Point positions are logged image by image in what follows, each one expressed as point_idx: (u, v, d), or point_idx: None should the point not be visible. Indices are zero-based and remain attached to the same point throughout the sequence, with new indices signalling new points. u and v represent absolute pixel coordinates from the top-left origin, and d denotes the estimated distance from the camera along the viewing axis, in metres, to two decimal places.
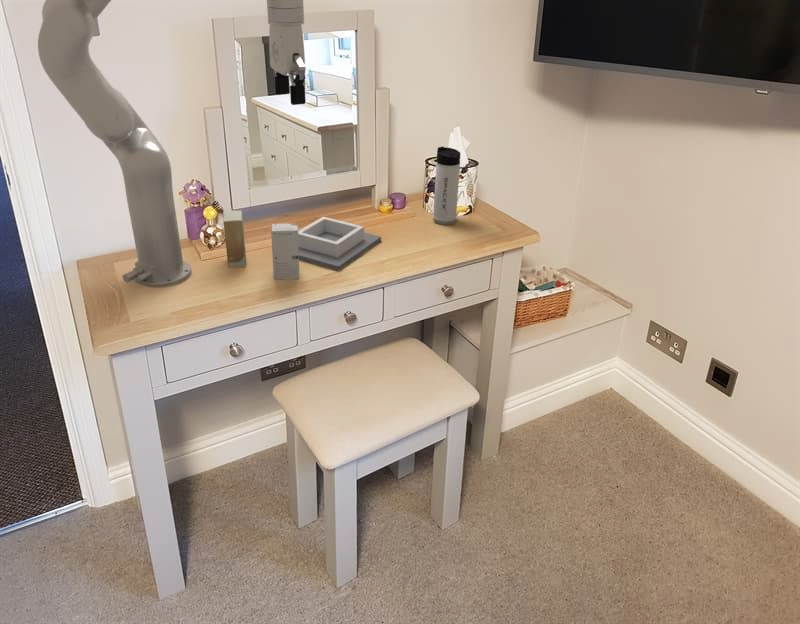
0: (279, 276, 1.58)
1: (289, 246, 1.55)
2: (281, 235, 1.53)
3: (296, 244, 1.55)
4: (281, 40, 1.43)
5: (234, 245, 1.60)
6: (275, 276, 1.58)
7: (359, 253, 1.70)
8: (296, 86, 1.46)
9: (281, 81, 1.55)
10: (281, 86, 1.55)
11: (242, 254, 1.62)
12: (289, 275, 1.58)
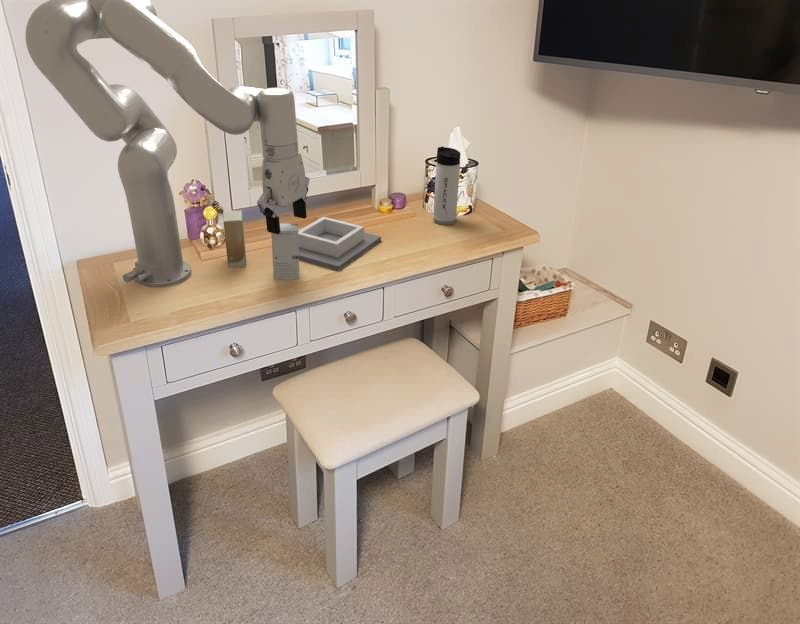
0: (279, 276, 1.58)
1: (289, 246, 1.55)
2: (280, 235, 1.53)
3: (296, 244, 1.55)
4: (302, 165, 1.50)
5: (234, 245, 1.60)
6: (275, 276, 1.58)
7: (359, 253, 1.70)
8: None
9: None
10: None
11: (242, 254, 1.62)
12: (289, 275, 1.58)
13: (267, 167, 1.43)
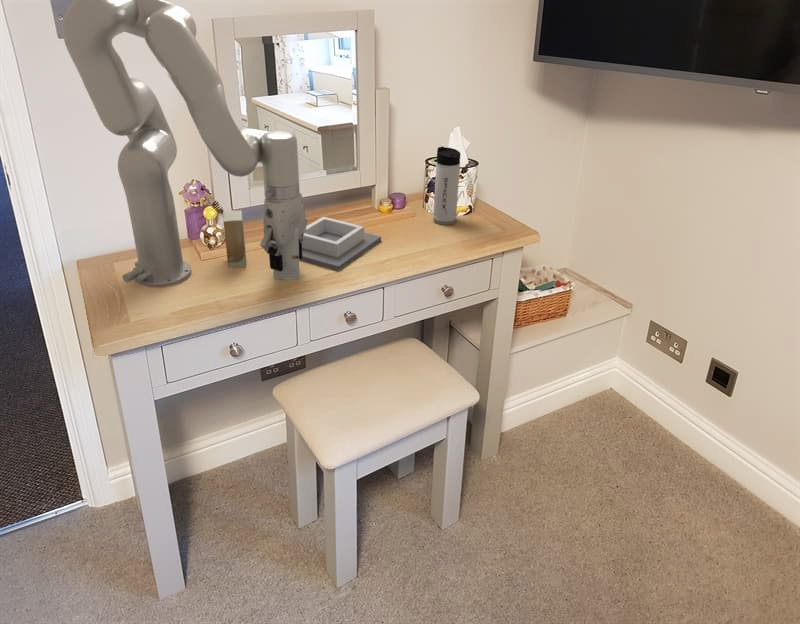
0: (279, 276, 1.58)
1: (289, 246, 1.55)
2: None
3: (296, 244, 1.55)
4: (302, 204, 1.54)
5: (234, 245, 1.60)
6: (275, 276, 1.58)
7: (359, 253, 1.70)
8: None
9: None
10: None
11: (242, 254, 1.62)
12: (289, 275, 1.58)
13: (269, 207, 1.48)
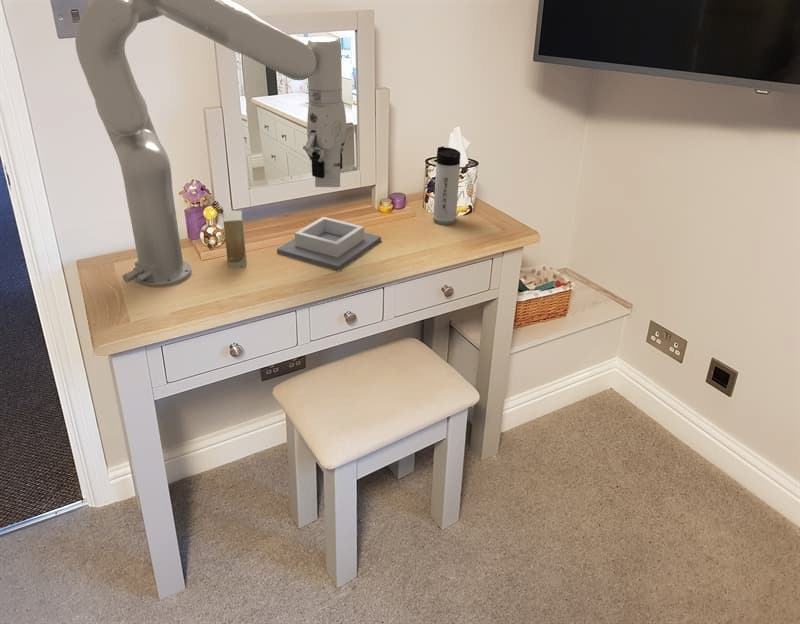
0: (321, 184, 1.63)
1: (331, 153, 1.60)
2: None
3: (338, 151, 1.60)
4: (344, 112, 1.59)
5: (234, 245, 1.60)
6: (317, 184, 1.63)
7: (359, 253, 1.70)
8: None
9: None
10: None
11: (242, 254, 1.62)
12: (330, 183, 1.63)
13: (313, 111, 1.53)
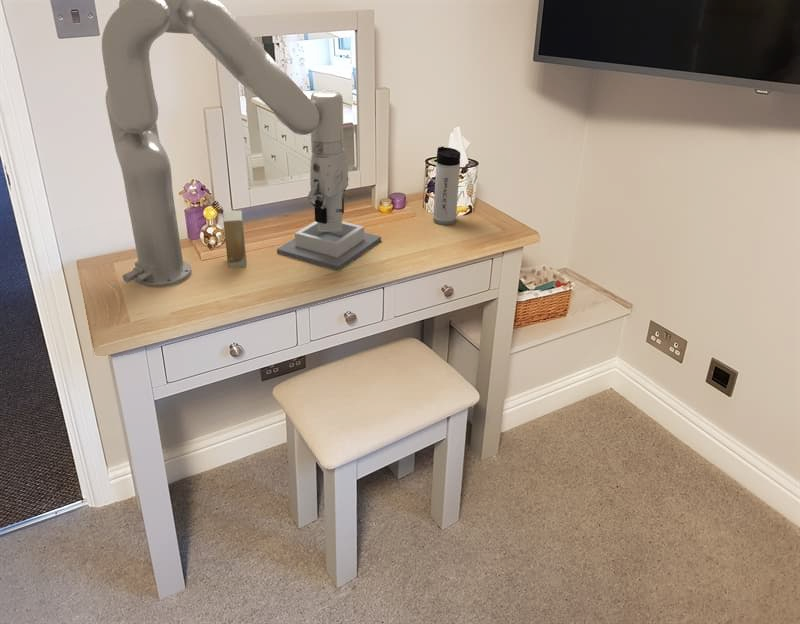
0: (324, 229, 1.69)
1: (333, 200, 1.66)
2: None
3: (340, 198, 1.66)
4: (345, 161, 1.65)
5: (234, 245, 1.60)
6: (320, 229, 1.69)
7: (359, 253, 1.70)
8: None
9: None
10: None
11: (242, 254, 1.62)
12: (333, 228, 1.69)
13: (316, 161, 1.59)
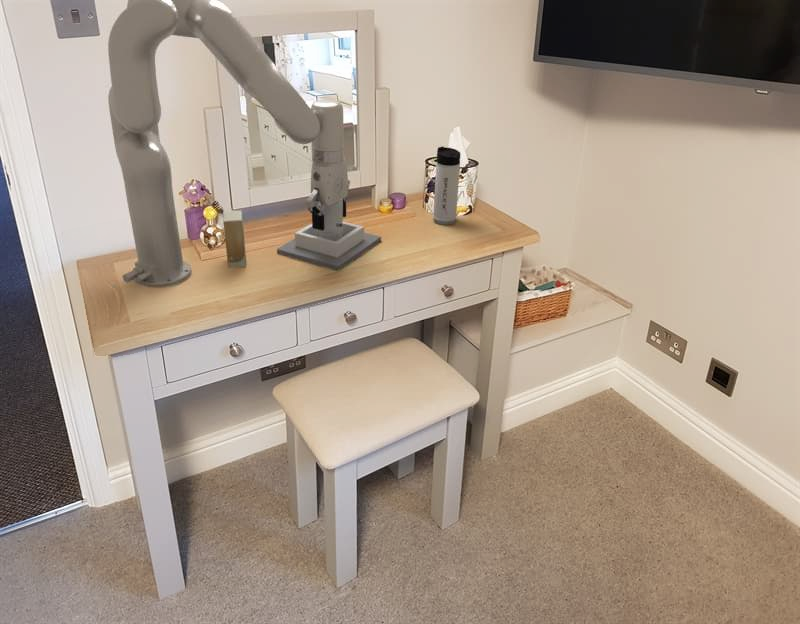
0: None
1: (333, 215, 1.68)
2: None
3: (340, 213, 1.68)
4: (345, 169, 1.66)
5: (234, 245, 1.60)
6: None
7: (359, 253, 1.70)
8: None
9: None
10: None
11: (242, 254, 1.62)
12: None
13: (316, 170, 1.60)
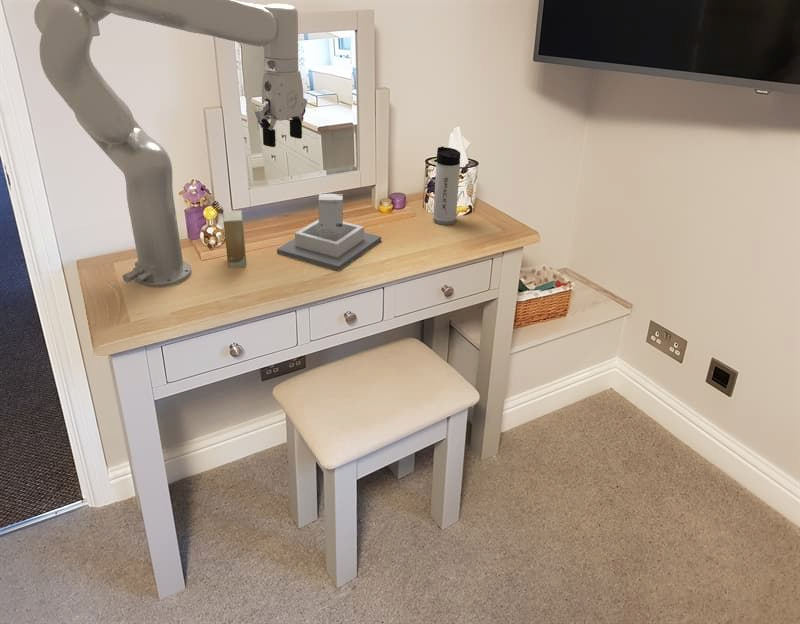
0: None
1: (333, 215, 1.68)
2: (326, 204, 1.67)
3: (340, 213, 1.68)
4: (301, 84, 1.57)
5: (234, 245, 1.60)
6: None
7: (359, 253, 1.70)
8: None
9: None
10: None
11: (242, 254, 1.62)
12: None
13: (267, 79, 1.51)
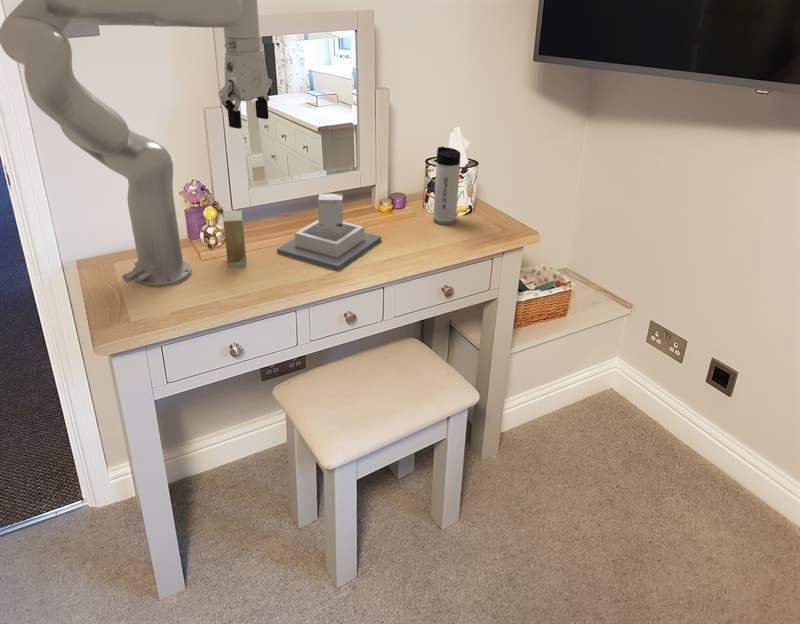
0: None
1: (333, 215, 1.68)
2: (326, 204, 1.67)
3: (340, 213, 1.68)
4: (264, 63, 1.56)
5: (234, 245, 1.60)
6: None
7: (359, 253, 1.70)
8: None
9: None
10: None
11: (242, 254, 1.62)
12: None
13: (229, 60, 1.50)
